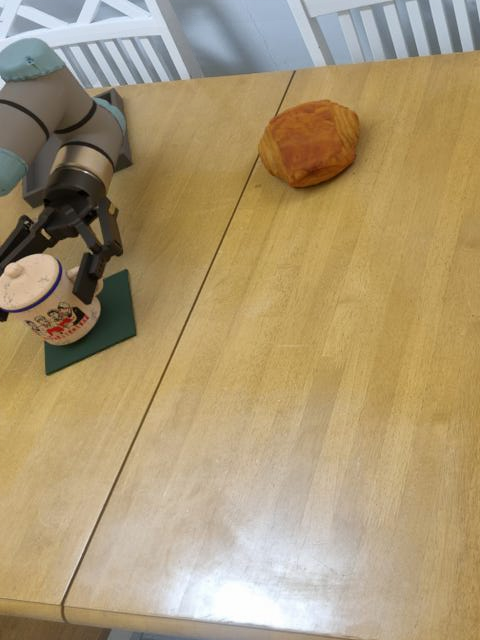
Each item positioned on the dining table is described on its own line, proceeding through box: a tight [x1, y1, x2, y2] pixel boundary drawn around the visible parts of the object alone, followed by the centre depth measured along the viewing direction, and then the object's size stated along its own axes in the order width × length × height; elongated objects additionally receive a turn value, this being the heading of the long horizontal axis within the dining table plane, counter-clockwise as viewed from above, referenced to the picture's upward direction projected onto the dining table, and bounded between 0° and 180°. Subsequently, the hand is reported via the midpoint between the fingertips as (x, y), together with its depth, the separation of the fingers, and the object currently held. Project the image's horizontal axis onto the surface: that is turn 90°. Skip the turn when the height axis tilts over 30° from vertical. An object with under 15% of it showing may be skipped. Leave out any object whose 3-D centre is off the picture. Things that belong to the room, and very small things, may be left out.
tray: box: [21, 87, 133, 209], centre depth 124 cm, size 18×20×2 cm
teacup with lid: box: [0, 253, 104, 345], centre depth 96 cm, size 12×9×12 cm
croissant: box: [257, 98, 361, 188], centre depth 108 cm, size 14×16×8 cm
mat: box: [43, 268, 137, 376], centre depth 102 cm, size 13×13×1 cm
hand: (38, 307), depth 93 cm, fingers closed on teacup with lid, 12 cm apart
